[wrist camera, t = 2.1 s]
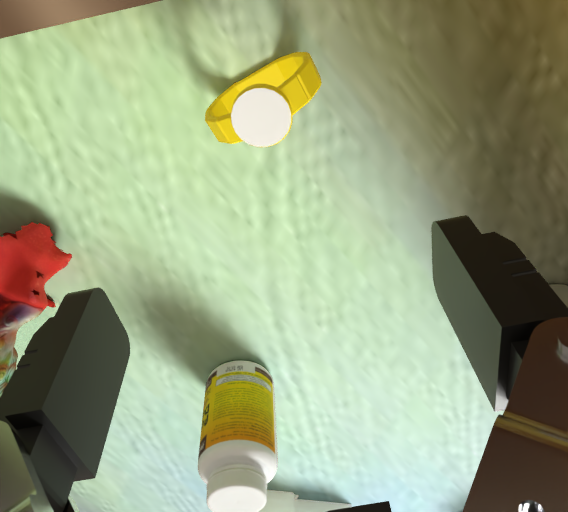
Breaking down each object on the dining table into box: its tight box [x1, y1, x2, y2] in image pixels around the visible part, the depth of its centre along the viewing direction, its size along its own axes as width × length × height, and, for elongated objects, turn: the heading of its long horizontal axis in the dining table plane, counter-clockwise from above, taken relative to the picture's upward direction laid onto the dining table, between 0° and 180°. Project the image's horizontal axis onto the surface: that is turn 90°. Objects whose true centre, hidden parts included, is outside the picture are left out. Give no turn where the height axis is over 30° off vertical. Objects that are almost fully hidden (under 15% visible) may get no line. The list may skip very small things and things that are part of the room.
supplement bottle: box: [198, 360, 278, 512], centre depth 36 cm, size 6×6×10 cm
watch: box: [205, 52, 321, 147], centre depth 24 cm, size 6×3×6 cm, turn 118°
